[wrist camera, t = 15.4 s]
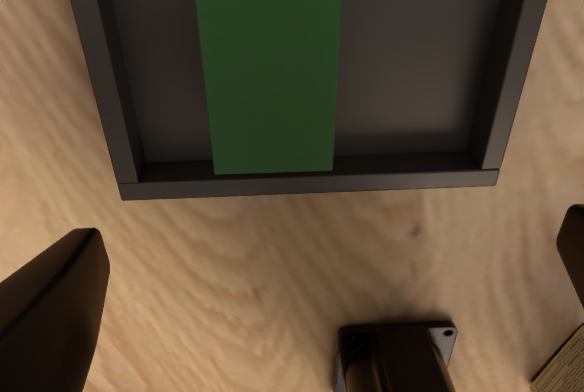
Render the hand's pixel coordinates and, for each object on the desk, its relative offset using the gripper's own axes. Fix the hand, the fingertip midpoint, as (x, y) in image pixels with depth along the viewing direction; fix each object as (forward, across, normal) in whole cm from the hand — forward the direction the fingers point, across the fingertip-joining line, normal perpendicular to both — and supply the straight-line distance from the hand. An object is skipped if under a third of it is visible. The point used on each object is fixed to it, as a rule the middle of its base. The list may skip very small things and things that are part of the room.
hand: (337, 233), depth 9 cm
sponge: (+10, +1, 0) cm, 10 cm away
